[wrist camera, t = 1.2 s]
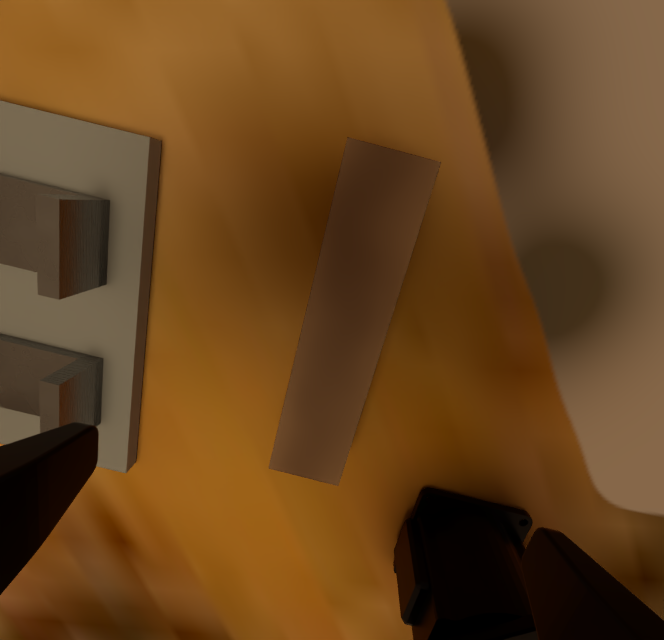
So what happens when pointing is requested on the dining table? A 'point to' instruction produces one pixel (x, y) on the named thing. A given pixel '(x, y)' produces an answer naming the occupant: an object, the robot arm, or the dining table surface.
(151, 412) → the dining table surface
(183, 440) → the dining table surface
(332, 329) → the rail
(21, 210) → the bracket near
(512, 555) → the robot arm
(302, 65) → the dining table surface
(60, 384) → the bracket far
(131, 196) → the board
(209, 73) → the dining table surface
